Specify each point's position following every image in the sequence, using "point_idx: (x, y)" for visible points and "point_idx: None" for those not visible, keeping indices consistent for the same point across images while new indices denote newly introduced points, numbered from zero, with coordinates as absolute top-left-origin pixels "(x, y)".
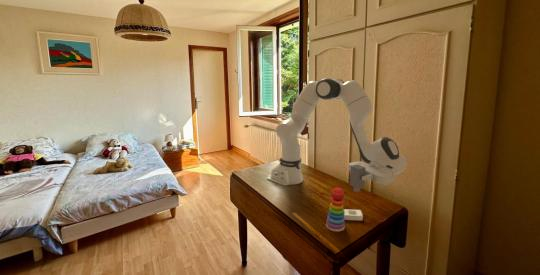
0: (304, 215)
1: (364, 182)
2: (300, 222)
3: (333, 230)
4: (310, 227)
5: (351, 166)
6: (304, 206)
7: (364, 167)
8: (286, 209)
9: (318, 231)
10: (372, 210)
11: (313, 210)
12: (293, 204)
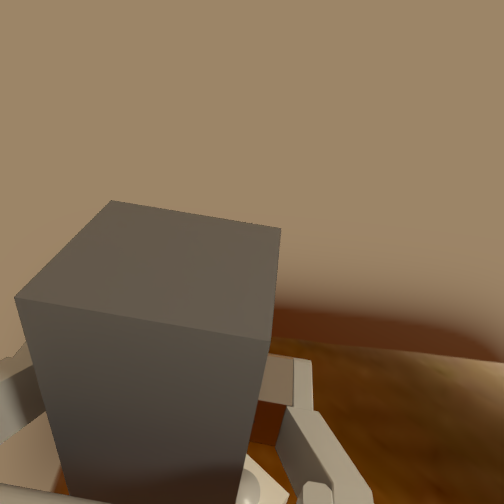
0: (362, 389)
1: (69, 490)
2: (321, 346)
3: None
4: (272, 349)
5: (265, 228)
6: (447, 449)
7: (38, 284)
8: (438, 368)
9: None
10: None
11: (389, 456)
12: (481, 419)
